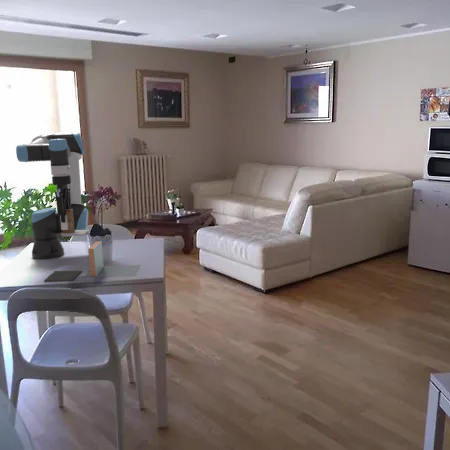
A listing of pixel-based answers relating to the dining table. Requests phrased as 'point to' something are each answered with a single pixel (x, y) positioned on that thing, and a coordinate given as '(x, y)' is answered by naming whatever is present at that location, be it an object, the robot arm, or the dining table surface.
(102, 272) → the mat
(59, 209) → the robot arm
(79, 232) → the float tool
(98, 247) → the tile
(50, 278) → the pad
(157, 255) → the dining table surface
